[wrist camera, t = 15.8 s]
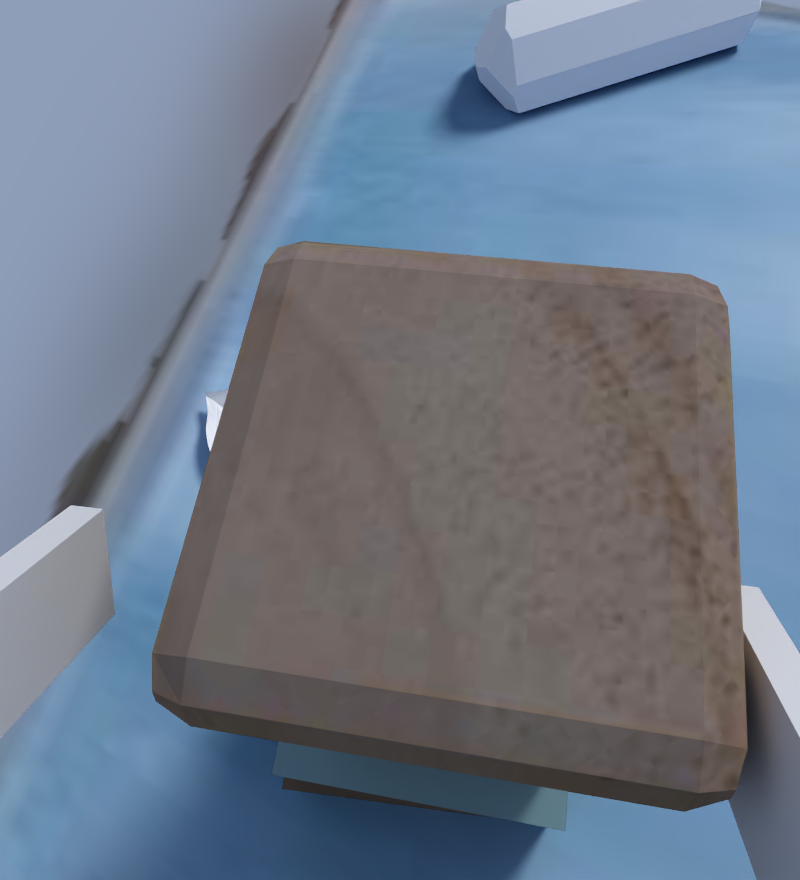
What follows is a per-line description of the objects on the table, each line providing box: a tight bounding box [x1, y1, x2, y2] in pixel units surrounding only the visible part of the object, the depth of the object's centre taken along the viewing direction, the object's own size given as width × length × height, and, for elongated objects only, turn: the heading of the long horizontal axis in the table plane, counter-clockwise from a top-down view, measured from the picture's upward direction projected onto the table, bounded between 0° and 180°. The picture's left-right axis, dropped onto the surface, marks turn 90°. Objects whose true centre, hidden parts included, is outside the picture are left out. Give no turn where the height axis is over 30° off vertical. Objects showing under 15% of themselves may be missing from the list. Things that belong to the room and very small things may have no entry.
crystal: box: [475, 0, 761, 113], centre depth 54 cm, size 7×7×24 cm
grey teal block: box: [271, 741, 568, 831], centre depth 32 cm, size 12×12×4 cm
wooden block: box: [152, 241, 749, 811], centre depth 21 cm, size 10×10×20 cm
